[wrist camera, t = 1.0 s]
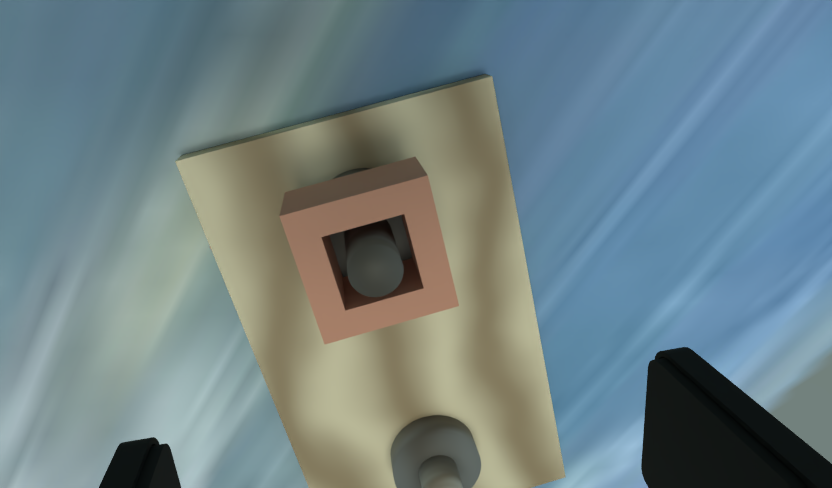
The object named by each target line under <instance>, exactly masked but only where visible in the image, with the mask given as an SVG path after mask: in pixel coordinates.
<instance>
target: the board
mask: <svg viewBox="0 0 832 488" xmlns="http://www.w3.org/2000/svg"><path fill="white" fill-rule="evenodd" d="M412 157H416V158H417V160H418V161H419V163H420V164H421V166H422V167H423V169H424V170H425V172H426V173H427V175H428V178H429V182H430V186H431V190H432V194H433V199H434V203H435V207H436V211H437V215H438V219H439V224H440V228H441V232H442V236H443V240H444V244H445V249H446V253H447V257H448V261H449V265H450V270H451V274H452V278H453V282H454V286H455V290H456V295H457V299H458V303H459V306H458V307H454V308H451V309H447V310H444V311H440V312H437V313H433V314H430V315H426V316H423V317H419V318H416V319H412V320H409V321H405V322H402V323H398V324H395V325H391V326H388V327H384V328H381V329H377V330H374V331H370V332H367V333H363V334H360V335H356V336H353V337H349V338H346V339H343V340H339V341H336V342H332V343H329V344H324V342H323V339H322V336H321V333H320V330H319V327H318V325H317V322H316V319H315V316H314V313H313V310H312V307H311V305H310V302H309V299H308V296H307V293H306V290H305V288H304V285H303V282H302V279H301V276H300V273H299V271H298V268H297V265H296V262H295V259H294V256H293V254H292V251H291V248H290V245H289V242H288V239H287V237H286V234H285V231H284V228H283V225H282V222H281V219H280V217H279V216H280V211H281V207H282V203H283V199H284V194H285V192H288V191H291V190H295V189H299V188H302V187H306V186H310V185H313V184H317V183H321V182H324V181H328V180H332V179H335V178H339V177H343V176H346V175H350V174H354V173H357V172H361V171H364V170H368V169H372V168H375V167H379V166H383V165H386V164H390V163H394V162H397V161H401V160H405V159H408V158H412ZM175 162H176V164H177V167H178V169H179V172H180V174H181V177H182V179H183V181H184V184H185V186H186V189H187V191H188V194H189V196H190V198H191V201H192V203H193V206H194V208H195V211H196V213H197V216H198V218H199V220H200V223H201V225H202V228H203V230H204V233H205V235H206V237H207V240H208V242H209V245H210V247H211V250H212V252H213V255H214V257H215V259H216V262H217V264H218V267H219V269H220V272H221V274H222V277H223V279H224V281H225V284H226V286H227V289H228V291H229V294H230V296H231V298H232V301H233V303H234V306H235V308H236V311H237V313H238V316H239V318H240V320H241V323H242V325H243V328H244V330H245V333H246V335H247V337H248V340H249V342H250V345H251V347H252V350H253V352H254V355H255V357H256V359H257V362H258V364H259V367H260V369H261V372H262V374H263V376H264V379H265V381H266V384H267V386H268V389H269V391H270V394H271V396H272V398H273V401H274V403H275V406H276V408H277V411H278V413H279V416H280V418H281V420H282V423H283V425H284V428H285V430H286V433H287V435H288V437H289V440H290V442H291V445H292V447H293V450H294V452H295V455H296V457H297V459H298V462H299V464H300V467H301V469H302V472H303V474H304V476H305V479H306V481H307V484H308V486H309V488H531V487H534V486H538V485H541V484H544V483H548V482H551V481H554V480H558V479H561V478H564V477H565V472H564V466H563V461H562V455H561V450H560V444H559V439H558V433H557V428H556V422H555V417H554V412H553V406H552V401H551V395H550V390H549V384H548V379H547V373H546V368H545V362H544V357H543V351H542V346H541V340H540V335H539V330H538V324H537V319H536V313H535V308H534V302H533V297H532V291H531V286H530V280H529V275H528V269H527V264H526V258H525V253H524V248H523V242H522V237H521V231H520V226H519V220H518V215H517V209H516V204H515V198H514V193H513V187H512V182H511V176H510V171H509V165H508V160H507V155H506V149H505V144H504V138H503V133H502V127H501V122H500V116H499V111H498V105H497V100H496V94H495V89H494V83H493V78H492V76H490V75H487V74H483V75H480V76H476V77H472V78H469V79H465V80H461V81H457V82H454V83H450V84H446V85H442V86H439V87H435V88H431V89H428V90H424V91H420V92H416V93H413V94H409V95H405V96H401V97H398V98H394V99H390V100H387V101H383V102H379V103H375V104H372V105H368V106H364V107H360V108H357V109H353V110H349V111H346V112H342V113H338V114H334V115H331V116H327V117H323V118H319V119H316V120H312V121H308V122H305V123H301V124H297V125H293V126H290V127H286V128H282V129H278V130H275V131H271V132H267V133H264V134H260V135H256V136H252V137H249V138H245V139H241V140H237V141H234V142H230V143H226V144H222V145H219V146H215V147H211V148H208V149H204V150H200V151H196V152H193V153H189V154H185V155H182V156H180V157H179V158H178V159H177V160H176V161H175ZM330 239H331V242H332V245H333V248H334V251H335V254H336V257H337V260H338V264H339V267H340V270H341V273H342V276H343V277H346V276H348V279H349V282H350V284H351V286H352V287H353V288H354V289H355V290H356V291H357V292H359V293H360V294H362V295H365V296H368V297H381V296H385V295H387V294H389V293H391V292H392V291H394V290H395V289H396V288H397V287H398V285H399V284H400V282H401V280H402V278H403V273H404V267H403V263H402V261H403V260H407V259H410V258H412V254H411V250H410V246H409V242H408V239H407V235H406V231H405V227H404V224H403V220H402V216H401V215H399V216H396V217H392V218H388V219H385V220H381V221H378V222H374V223H370V224H367V225H363V226H360V227H356V228H352V229H349V230H345V231H342V232H338V233H334V234H331V235H330Z"/></svg>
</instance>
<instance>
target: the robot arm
mask: <svg viewBox="0 0 832 488" xmlns="http://www.w3.org/2000/svg"><path fill="white" fill-rule="evenodd" d="M642 474H643V477H644V480H645V482H646V484H647V485H648V487H649V488H832V464H831V463H830V462H829V461H827V460H826V459H825V458H824V457H823V456H821V455H820V454H819V453H818V452H816V451H815V450H814V449H813V448H811V447H810V446H809V445H808V444H807V443H805V442H804V441H803V440H802V439H800V438H799V437H798V436H797V435H795V434H794V433H793V432H792V431H791V430H789V429H788V428H787V427H786V426H785V425H783V424H782V423H781V422H780V421H778V420H777V419H776V418H775V417H773V416H772V415H771V414H770V413H769V412H767V411H766V410H765V409H764V408H763V407H761V406H760V405H759V404H758V403H756V402H755V401H754V400H753V399H752V398H750V397H749V396H748V395H747V394H745V393H744V392H743V391H742V390H741V389H739V388H738V387H737V386H736V385H734V384H733V383H732V382H731V381H729V380H728V379H727V378H726V377H725V376H723V375H722V374H721V373H720V372H718V371H717V370H716V369H715V368H714V367H712V366H711V365H710V364H709V363H707V362H706V361H705V360H704V359H703V358H701V357H700V356H699V355H698V354H696V353H695V352H694V351H693V350H691V349H690V348H688V347H682V348H677V349H671V350H665V351H660V352H658V353H657V354H656V356H655V360H652V361H650V363H649V366H648V377H647V392H646V407H645V421H644V436H643V451H642ZM99 488H181V485H180V482H179V478H178V475H177V471H176V467H175V464H174V460H173V456H172V453H171V449H170V447H169V445H168V444H161V445H159V442H158V440H157V439H156V438H154V437H153V438H147V439H141V440H135V441H129V442H123V443H121V444H120V445H119V446H118V448H117V450H116V452H115V454H114V456H113V458H112V460H111V463H110V465H109V467H108V469H107V471H106V473H105V475H104V478H103V480H102V482H101V484H100V486H99Z"/></svg>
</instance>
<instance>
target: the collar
mask: <svg viewBox="0 0 832 488" xmlns="http://www.w3.org/2000/svg"><path fill="white" fill-rule="evenodd" d="M399 215H401V216H402V220H403V224H404V227H405V231H406V235H407V239H408V242H409V246H410V250H411V254H412V258H410V259H407V260H403V261H402V263H403V267H404V273H403V278H402V280H401V282H400V284H399V285H398V287H397V288H396V289H395V290H394V291H392V292H391V293H389V294H387V295H385V296H381V297H368V296H365V295H362V294H360V293H359V292H357V291H356V290H355V289H354V288H353V287H352V286H351V284H350V282H349V279H348V276H346V277H343V276H342V273H341V270H340V267H339V264H338V260H337V257H336V254H335V251H334V248H333V245H332V242H331V239H330V235H331V234H334V233H338V232H342V231H345V230H349V229H352V228H356V227H360V226H363V225H367V224H370V223H374V222H378V221H381V220H385V219H388V218H392V217H396V216H399ZM279 217H280V219H281V222H282V225H283V228H284V231H285V234H286V237H287V239H288V242H289V245H290V248H291V251H292V254H293V256H294V259H295V262H296V265H297V268H298V271H299V273H300V276H301V279H302V282H303V285H304V288H305V290H306V293H307V296H308V299H309V302H310V305H311V307H312V310H313V313H314V316H315V319H316V322H317V325H318V327H319V330H320V333H321V336H322V339H323V342H324V344H329V343H332V342H336V341H339V340H343V339H346V338H349V337H353V336H356V335H360V334H363V333H367V332H370V331H374V330H377V329H381V328H384V327H388V326H391V325H395V324H398V323H402V322H405V321H409V320H412V319H416V318H419V317H423V316H426V315H430V314H433V313H437V312H440V311H444V310H447V309H451V308H454V307H458V306H459V303H458V299H457V295H456V290H455V286H454V282H453V278H452V274H451V270H450V265H449V261H448V257H447V253H446V249H445V244H444V240H443V236H442V232H441V228H440V224H439V219H438V215H437V211H436V207H435V203H434V199H433V194H432V190H431V186H430V182H429V178H428V175H427V173H426V172H425V170H424V169H423V167H422V166H421V164H420V163H419V161H418V160H417V158H416V157H412V158H408V159H405V160H401V161H397V162H394V163H390V164H386V165H383V166H379V167H375V168H372V169H368V170H364V171H361V172H357V173H354V174H350V175H346V176H343V177H339V178H335V179H332V180H328V181H324V182H321V183H317V184H313V185H310V186H306V187H302V188H299V189H295V190H291V191H288V192H285V194H284V199H283V203H282V207H281V211H280V216H279Z"/></svg>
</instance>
